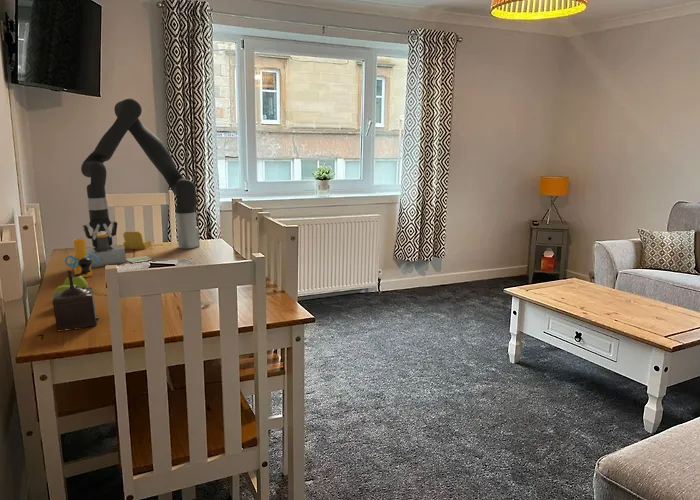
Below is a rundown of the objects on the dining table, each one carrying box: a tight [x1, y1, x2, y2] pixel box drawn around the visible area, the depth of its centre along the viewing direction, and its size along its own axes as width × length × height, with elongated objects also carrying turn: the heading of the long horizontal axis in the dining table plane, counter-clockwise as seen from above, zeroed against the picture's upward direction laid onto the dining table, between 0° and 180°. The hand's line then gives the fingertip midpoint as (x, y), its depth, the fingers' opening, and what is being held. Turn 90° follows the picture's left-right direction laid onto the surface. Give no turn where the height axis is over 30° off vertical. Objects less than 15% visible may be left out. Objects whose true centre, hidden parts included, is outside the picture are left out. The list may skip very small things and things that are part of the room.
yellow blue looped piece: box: [64, 237, 98, 279], centre depth 206 cm, size 12×10×15 cm
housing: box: [86, 243, 127, 269], centre depth 229 cm, size 14×14×6 cm
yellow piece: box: [122, 230, 153, 250], centre depth 256 cm, size 10×10×9 cm
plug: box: [96, 233, 110, 251], centre depth 228 cm, size 5×5×12 cm
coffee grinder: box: [52, 258, 100, 331], centre depth 156 cm, size 16×11×18 cm
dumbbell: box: [51, 276, 89, 301], centre depth 177 cm, size 16×8×7 cm, turn 14°
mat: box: [126, 255, 152, 263], centre depth 232 cm, size 9×9×1 cm
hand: (102, 246), depth 228 cm, fingers closed on plug, 5 cm apart
